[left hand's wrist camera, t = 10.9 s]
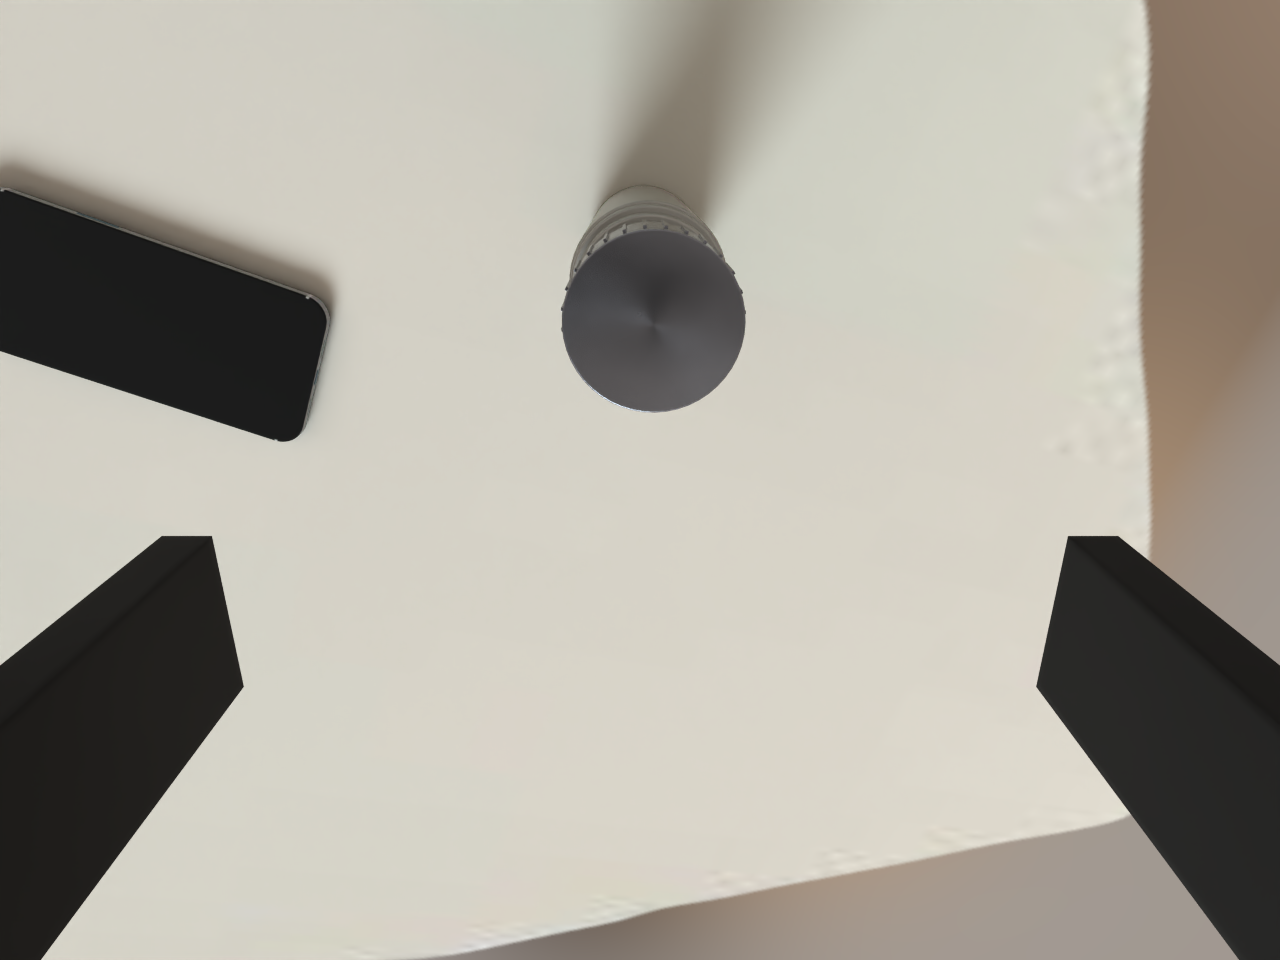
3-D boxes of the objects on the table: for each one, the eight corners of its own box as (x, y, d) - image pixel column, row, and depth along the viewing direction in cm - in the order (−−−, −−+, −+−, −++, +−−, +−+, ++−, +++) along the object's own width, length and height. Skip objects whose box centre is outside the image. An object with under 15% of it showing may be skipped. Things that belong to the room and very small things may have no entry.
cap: (550, 369, 22) (542, 391, 20) (587, 199, 20) (582, 205, 18) (710, 407, 22) (718, 433, 20) (757, 244, 21) (771, 253, 18)
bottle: (578, 283, 37) (533, 394, 20) (602, 173, 35) (574, 190, 18) (682, 309, 38) (723, 438, 21) (710, 201, 36) (781, 244, 19)
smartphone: (297, 449, 39) (-36, 341, 37) (302, 444, 40) (-25, 337, 38) (331, 303, 37) (-25, 178, 34) (336, 300, 37) (-13, 177, 35)
